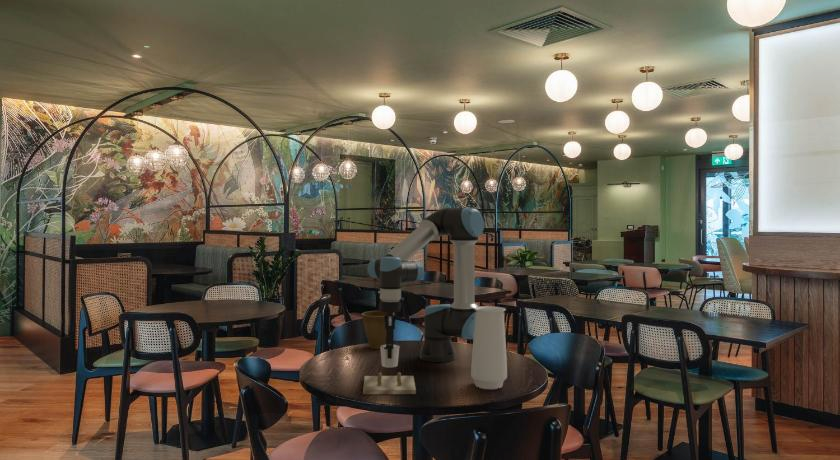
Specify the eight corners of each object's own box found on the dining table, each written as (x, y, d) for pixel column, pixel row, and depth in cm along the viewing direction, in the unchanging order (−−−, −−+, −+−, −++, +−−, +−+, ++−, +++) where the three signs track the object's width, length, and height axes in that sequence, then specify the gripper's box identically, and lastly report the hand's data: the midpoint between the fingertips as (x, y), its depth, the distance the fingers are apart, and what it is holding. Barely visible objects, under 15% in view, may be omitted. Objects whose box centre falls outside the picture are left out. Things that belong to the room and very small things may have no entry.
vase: (497, 392, 206) (498, 312, 206) (464, 386, 213) (465, 309, 213) (512, 384, 217) (513, 307, 217) (480, 378, 224) (481, 304, 224)
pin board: (413, 379, 222) (413, 369, 222) (415, 394, 204) (415, 382, 204) (364, 379, 221) (364, 369, 221) (362, 394, 203) (363, 382, 203)
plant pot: (365, 343, 284) (366, 310, 284) (396, 344, 282) (396, 311, 282) (358, 350, 269) (358, 315, 269) (390, 351, 267) (390, 316, 267)
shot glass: (402, 364, 214) (402, 344, 214) (395, 368, 208) (395, 348, 207) (384, 362, 216) (384, 343, 216) (376, 366, 210) (377, 346, 210)
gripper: (379, 296, 221) (379, 358, 222) (379, 304, 201) (378, 371, 202) (400, 296, 222) (399, 358, 222) (401, 304, 202) (400, 371, 202)
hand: (389, 364), depth 212 cm, fingers closed on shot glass, 7 cm apart
